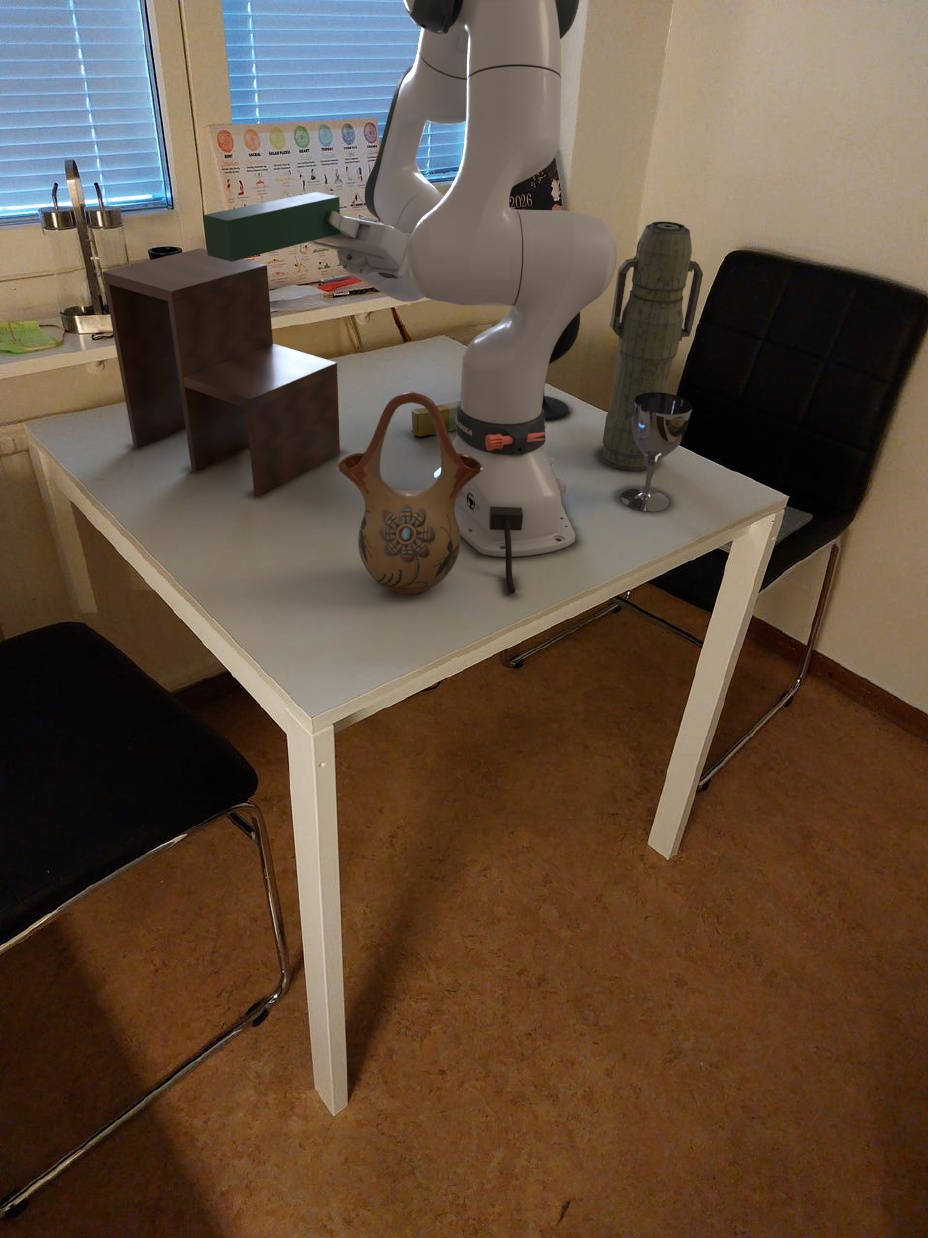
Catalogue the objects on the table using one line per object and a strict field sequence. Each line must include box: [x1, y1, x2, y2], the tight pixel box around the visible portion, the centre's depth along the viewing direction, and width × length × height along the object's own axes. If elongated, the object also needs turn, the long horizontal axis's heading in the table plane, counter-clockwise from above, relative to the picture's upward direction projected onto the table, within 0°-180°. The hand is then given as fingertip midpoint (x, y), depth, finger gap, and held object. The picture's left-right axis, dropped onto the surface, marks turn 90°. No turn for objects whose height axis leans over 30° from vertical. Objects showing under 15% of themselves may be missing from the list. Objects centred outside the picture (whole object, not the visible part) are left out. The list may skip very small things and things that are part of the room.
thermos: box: [600, 220, 704, 472], centre depth 133 cm, size 9×12×35 cm
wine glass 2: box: [620, 392, 693, 513], centre depth 127 cm, size 8×8×15 cm
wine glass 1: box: [542, 311, 581, 421], centre depth 152 cm, size 10×10×20 cm
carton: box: [202, 191, 341, 262], centre depth 123 cm, size 22×4×5 cm, turn 147°
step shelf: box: [101, 247, 341, 497], centre depth 131 cm, size 18×26×26 cm
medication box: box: [410, 400, 461, 437], centre depth 147 cm, size 12×3×4 cm, turn 123°
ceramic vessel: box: [336, 391, 483, 595], centre depth 103 cm, size 16×9×25 cm, turn 95°
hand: (313, 212), depth 128 cm, fingers closed on carton, 4 cm apart
